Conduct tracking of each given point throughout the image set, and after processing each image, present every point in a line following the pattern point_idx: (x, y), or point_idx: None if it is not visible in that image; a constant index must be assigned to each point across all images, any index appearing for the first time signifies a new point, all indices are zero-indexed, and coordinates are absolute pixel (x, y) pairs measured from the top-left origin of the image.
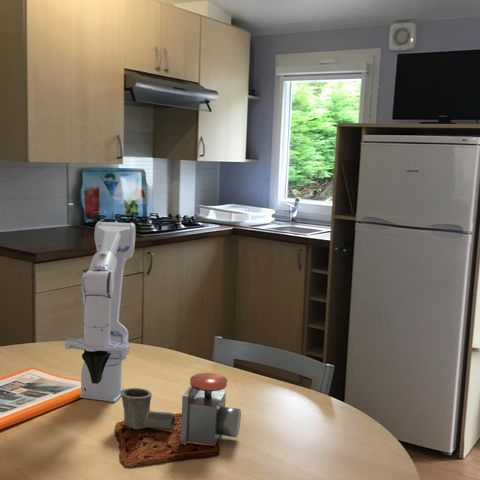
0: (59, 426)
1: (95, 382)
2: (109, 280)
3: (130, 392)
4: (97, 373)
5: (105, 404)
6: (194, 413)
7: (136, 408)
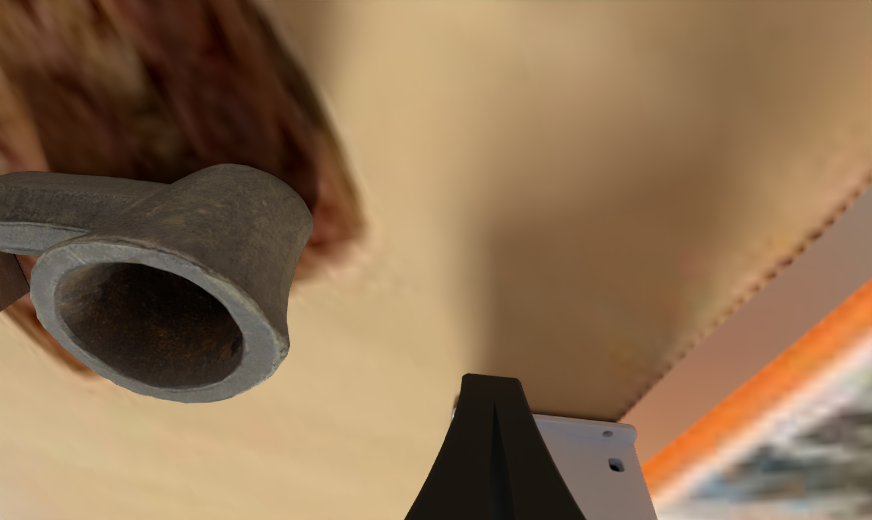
0: (680, 119)
1: (482, 382)
2: None
3: (232, 356)
4: (451, 454)
5: None
6: None
7: (142, 209)
